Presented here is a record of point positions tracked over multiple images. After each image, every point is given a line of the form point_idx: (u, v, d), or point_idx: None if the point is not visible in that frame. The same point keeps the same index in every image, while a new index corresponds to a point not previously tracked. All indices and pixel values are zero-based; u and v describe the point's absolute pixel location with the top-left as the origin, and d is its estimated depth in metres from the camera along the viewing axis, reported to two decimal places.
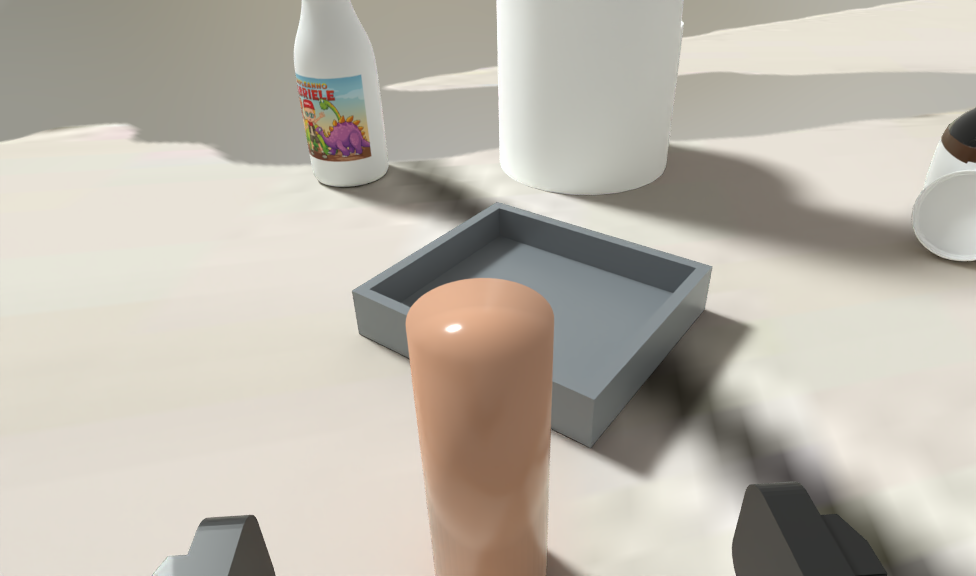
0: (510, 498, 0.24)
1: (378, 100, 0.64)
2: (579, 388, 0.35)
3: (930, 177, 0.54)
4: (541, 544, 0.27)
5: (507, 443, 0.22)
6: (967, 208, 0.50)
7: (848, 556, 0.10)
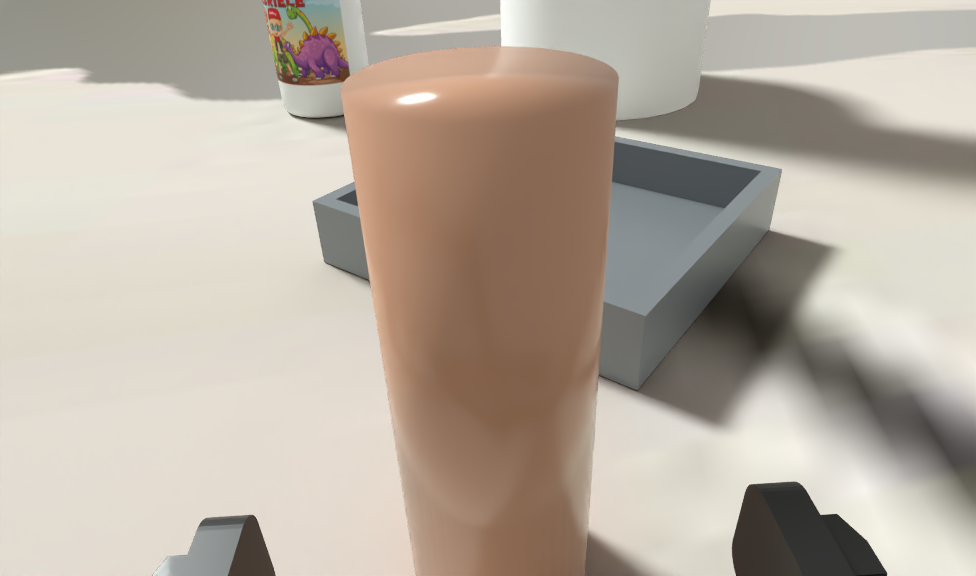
0: (536, 424, 0.13)
1: (358, 12, 0.54)
2: (623, 302, 0.24)
3: None
4: (583, 513, 0.17)
5: (533, 311, 0.12)
6: None
7: (848, 556, 0.10)
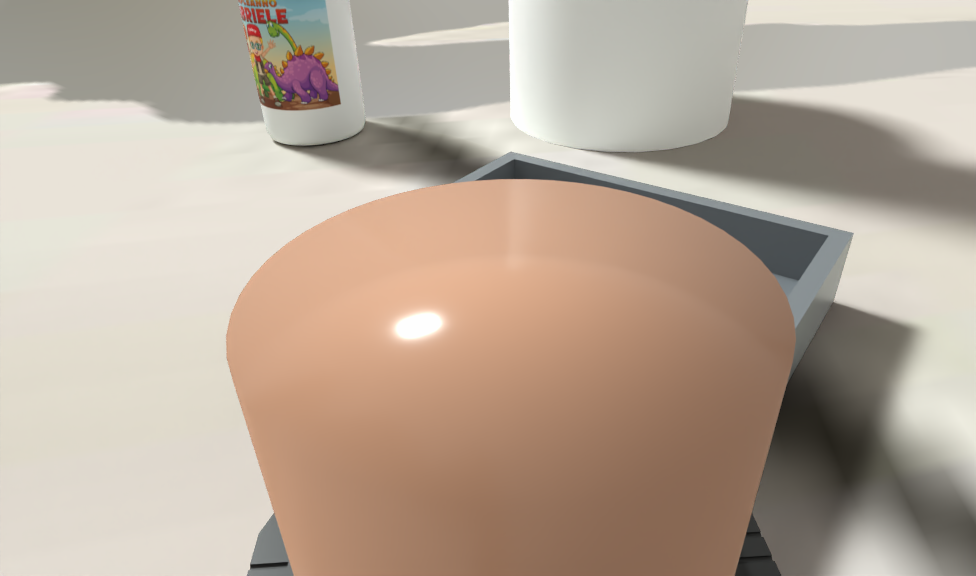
0: None
1: (349, 28, 0.48)
2: None
3: None
4: None
5: None
6: None
7: None
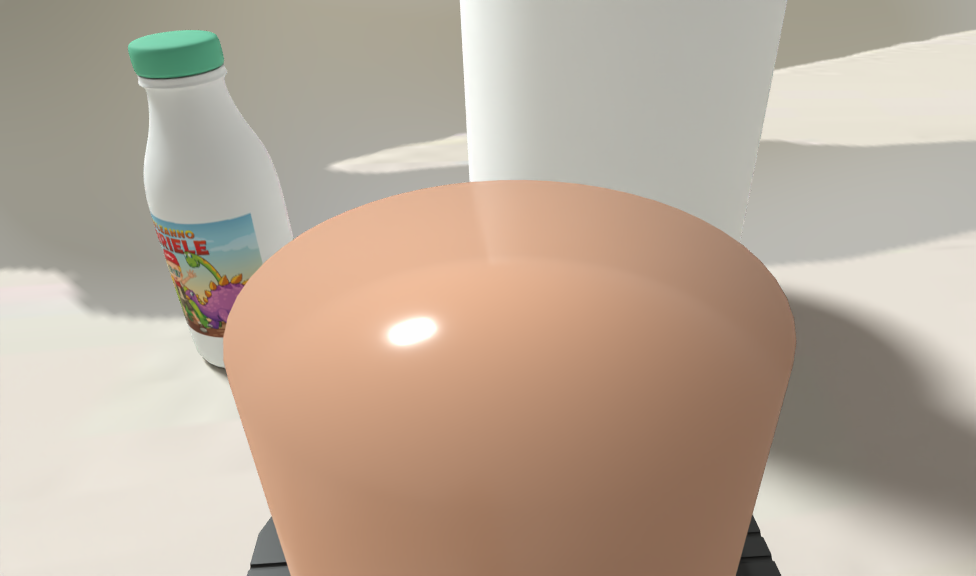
0: None
1: (285, 242, 0.41)
2: None
3: None
4: None
5: None
6: None
7: None
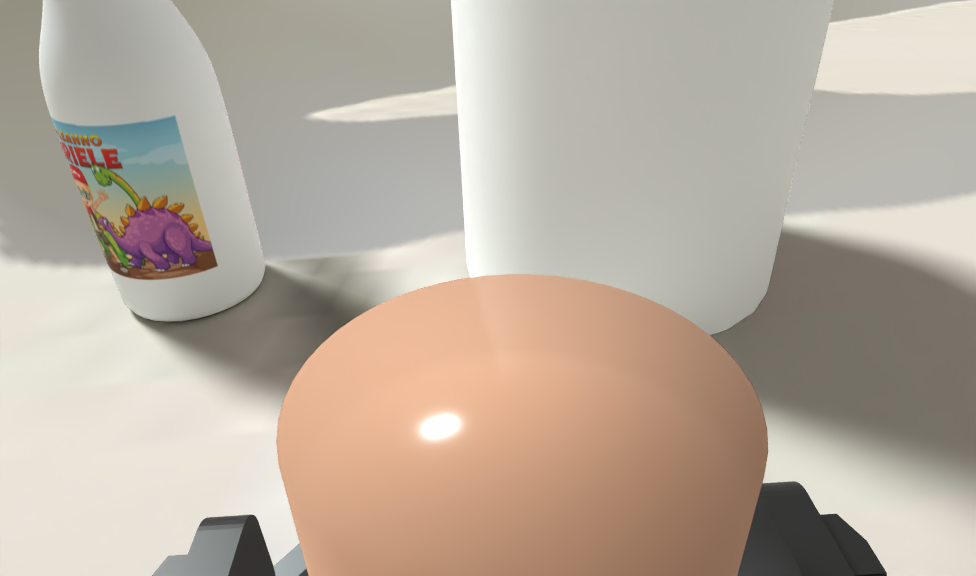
0: None
1: (226, 162, 0.33)
2: None
3: None
4: None
5: None
6: None
7: (848, 556, 0.10)
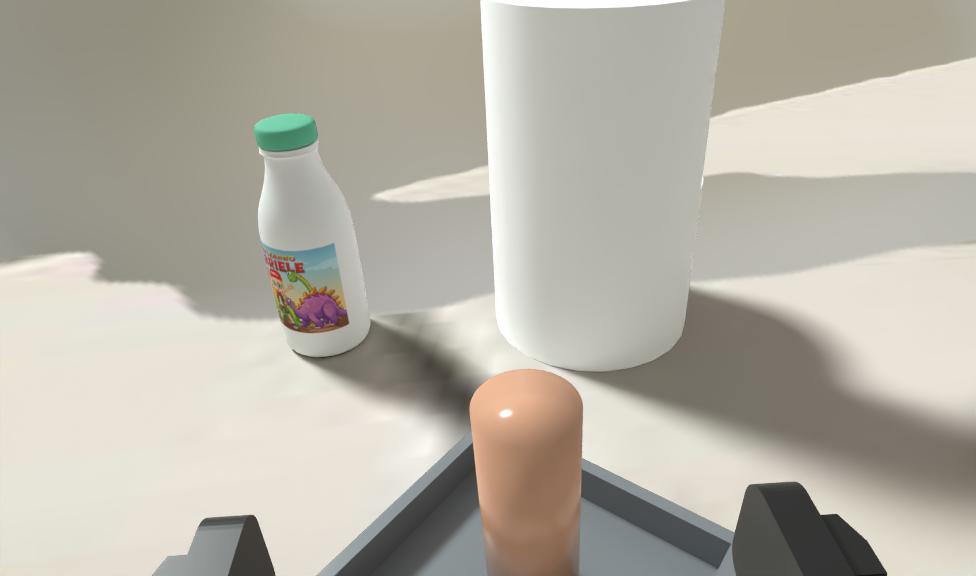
0: (552, 540, 0.31)
1: (356, 263, 0.56)
2: None
3: None
4: (575, 571, 0.34)
5: (551, 501, 0.29)
6: None
7: (848, 556, 0.10)
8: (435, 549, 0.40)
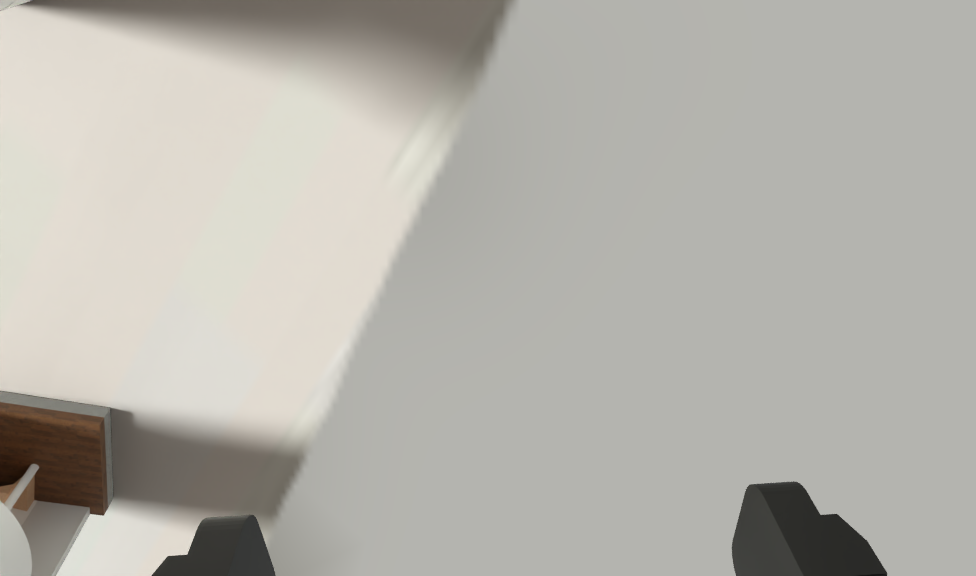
0: None
1: None
2: None
3: None
4: None
5: None
6: None
7: (848, 556, 0.10)
8: None
